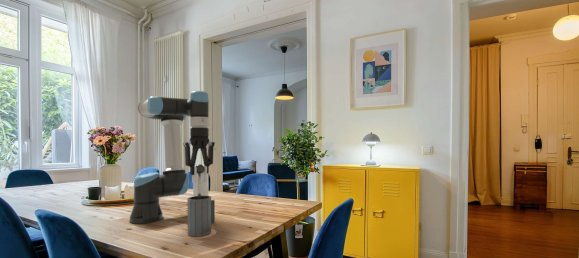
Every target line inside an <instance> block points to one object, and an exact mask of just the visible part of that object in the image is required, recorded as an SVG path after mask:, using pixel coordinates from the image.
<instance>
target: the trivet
mask: <svg viewBox="0 0 579 258" xmlns="http://www.w3.org/2000/svg"><path fill="white" fill-rule="evenodd" d="M217 233H218V232H217V230H216V229H213V228H211V234H209V235H207V236H203V237H190V236H188V233H187V231H185V232H183V233H182V235H181V237H182V238H184V239H186V240H201V239H202V240H203V239H206V238H211V237H213V236H215V235H216V234H217Z"/></svg>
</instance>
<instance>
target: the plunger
mask: <svg viewBox="0 0 579 258" xmlns="http://www.w3.org/2000/svg"><path fill="white" fill-rule="evenodd" d="M195 167H197V173H198V200H200V199H201V173H203V172H204V164H200V163H199V164H195Z"/></svg>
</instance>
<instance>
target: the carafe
mask: <svg viewBox="0 0 579 258" xmlns="http://www.w3.org/2000/svg"><path fill="white" fill-rule="evenodd" d="M215 207H216V205H215V199H212V196H210V195H208V196H201V199H200V200H198V196H190V197H187V209H186V210H187V211H186V212H187V220H186V221H187V223H186V224H187V229H186V230H187V231H186V232H187V233H188V236H190V237H203V236H207V235H209V234H211V229H212V225H213V224H215V222H216V221H215V217H216V216H215V214H216V213H215Z"/></svg>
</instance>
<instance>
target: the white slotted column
mask: <svg viewBox="0 0 579 258" xmlns="http://www.w3.org/2000/svg"><path fill="white" fill-rule="evenodd" d="M192 186H193V188H192V189H193V190H192V195H193V196H198V173H197V183H192ZM209 188H210V187H209V173H208V174H207V182H204V181H202V173H201V196H209ZM193 196H192V197H193Z"/></svg>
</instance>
